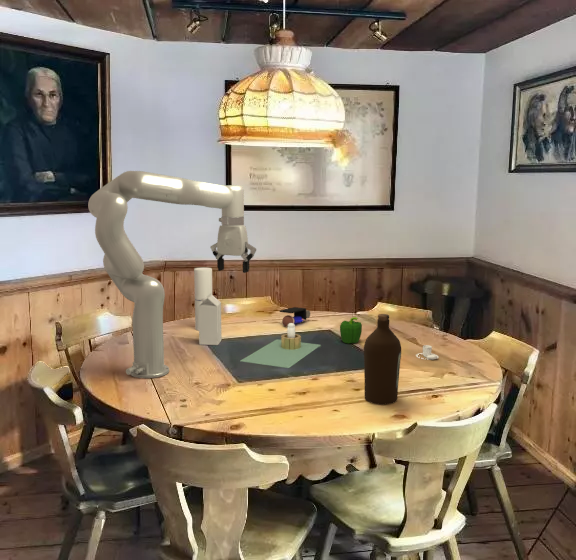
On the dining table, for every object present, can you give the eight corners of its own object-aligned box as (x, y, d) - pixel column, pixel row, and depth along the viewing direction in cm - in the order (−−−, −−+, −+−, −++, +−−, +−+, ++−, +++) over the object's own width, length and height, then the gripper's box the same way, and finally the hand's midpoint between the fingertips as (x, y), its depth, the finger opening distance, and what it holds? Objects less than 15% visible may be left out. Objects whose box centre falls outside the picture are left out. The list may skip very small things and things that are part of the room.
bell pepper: (334, 341, 245) (335, 316, 243) (349, 338, 250) (350, 313, 249) (350, 346, 239) (351, 320, 237) (365, 342, 244) (366, 317, 242)
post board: (288, 372, 209) (288, 341, 207) (239, 365, 216) (239, 335, 214) (321, 348, 236) (321, 321, 234) (276, 343, 243) (276, 316, 241)
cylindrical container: (193, 327, 265) (192, 268, 260) (209, 326, 268) (208, 267, 263) (198, 331, 258) (197, 270, 254) (215, 330, 261) (214, 269, 257)
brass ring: (296, 350, 228) (296, 339, 227) (278, 348, 231) (278, 337, 230) (303, 345, 234) (303, 334, 234) (286, 343, 237) (286, 332, 236)
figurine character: (297, 323, 280) (277, 326, 267) (298, 305, 279) (279, 308, 266) (310, 325, 276) (291, 328, 263) (311, 307, 275) (292, 310, 263)
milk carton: (221, 340, 246) (221, 292, 242) (217, 345, 239) (217, 295, 235) (203, 340, 246) (202, 291, 243) (199, 345, 240) (198, 295, 236)
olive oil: (365, 406, 180) (368, 319, 175) (359, 392, 190) (361, 310, 186) (403, 405, 180) (406, 319, 176) (394, 392, 191) (398, 310, 186)
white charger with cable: (438, 362, 222) (439, 350, 221) (415, 360, 224) (415, 349, 223) (438, 355, 230) (438, 344, 230) (415, 353, 232) (416, 342, 231)
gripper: (205, 221, 218) (206, 271, 221) (250, 223, 211) (250, 274, 214) (216, 220, 225) (216, 268, 228) (260, 222, 218) (260, 271, 221)
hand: (233, 271), depth 221 cm, fingers open, 9 cm apart
